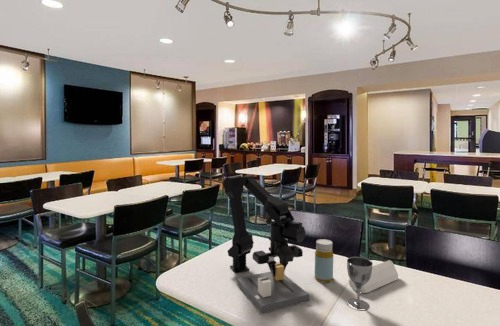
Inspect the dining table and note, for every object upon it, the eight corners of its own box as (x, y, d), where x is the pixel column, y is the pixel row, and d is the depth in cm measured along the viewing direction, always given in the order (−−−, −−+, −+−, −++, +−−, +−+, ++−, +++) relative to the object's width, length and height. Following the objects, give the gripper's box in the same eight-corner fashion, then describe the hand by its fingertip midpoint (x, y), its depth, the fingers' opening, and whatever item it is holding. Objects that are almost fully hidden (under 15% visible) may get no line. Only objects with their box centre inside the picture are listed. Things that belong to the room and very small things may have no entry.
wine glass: (358, 313, 99) (360, 268, 98) (340, 301, 106) (342, 259, 105) (376, 307, 103) (377, 263, 101) (357, 296, 110) (359, 255, 109)
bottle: (333, 283, 119) (334, 245, 118) (314, 281, 120) (315, 244, 119) (332, 275, 126) (333, 239, 124) (314, 273, 127) (315, 238, 126)
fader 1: (257, 291, 107) (257, 277, 107) (265, 290, 109) (265, 275, 108) (263, 297, 104) (263, 282, 103) (271, 295, 105) (271, 280, 104)
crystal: (380, 261, 130) (341, 276, 117) (394, 258, 125) (355, 273, 112) (387, 279, 128) (349, 296, 115) (402, 277, 122) (363, 294, 109)
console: (237, 284, 118) (237, 278, 118) (278, 275, 126) (278, 269, 125) (261, 313, 99) (261, 305, 99) (308, 301, 107) (308, 293, 106)
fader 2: (271, 276, 119) (271, 263, 119) (278, 274, 120) (278, 261, 120) (276, 280, 116) (277, 267, 115) (283, 279, 117) (284, 265, 116)
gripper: (265, 246, 105) (265, 290, 107) (311, 239, 113) (310, 280, 114) (251, 236, 116) (252, 277, 117) (294, 230, 123) (294, 268, 125)
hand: (277, 275), depth 118 cm, fingers closed on fader 2, 3 cm apart
